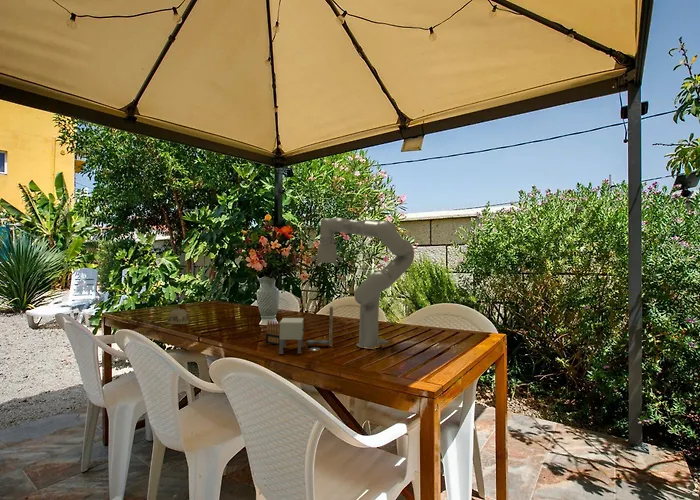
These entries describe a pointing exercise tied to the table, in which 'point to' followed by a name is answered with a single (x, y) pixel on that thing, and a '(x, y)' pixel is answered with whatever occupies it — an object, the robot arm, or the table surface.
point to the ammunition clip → (273, 333)
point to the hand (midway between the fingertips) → (326, 273)
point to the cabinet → (291, 332)
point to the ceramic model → (178, 317)
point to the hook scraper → (329, 333)
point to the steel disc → (314, 349)
